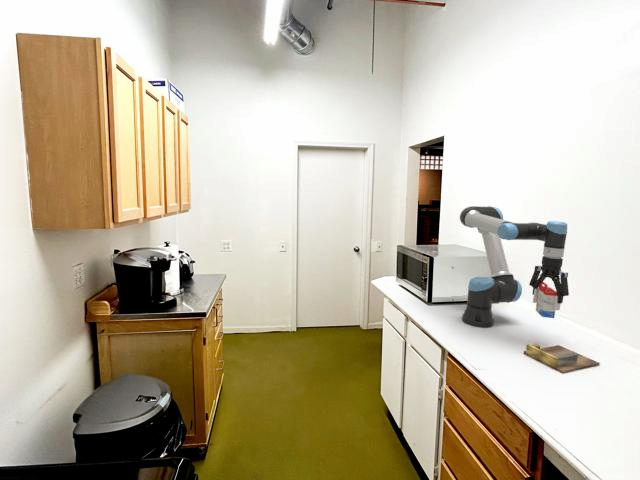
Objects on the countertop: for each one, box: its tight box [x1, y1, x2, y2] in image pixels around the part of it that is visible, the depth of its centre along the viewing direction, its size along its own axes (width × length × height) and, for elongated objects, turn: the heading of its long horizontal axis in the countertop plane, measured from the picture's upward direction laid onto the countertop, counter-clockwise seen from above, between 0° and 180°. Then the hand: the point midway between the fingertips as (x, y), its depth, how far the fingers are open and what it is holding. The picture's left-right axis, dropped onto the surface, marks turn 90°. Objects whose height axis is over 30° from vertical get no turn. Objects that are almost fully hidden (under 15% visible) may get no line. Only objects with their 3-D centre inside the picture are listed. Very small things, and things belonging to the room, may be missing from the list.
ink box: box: [535, 281, 558, 319], centre depth 157 cm, size 8×5×15 cm, turn 168°
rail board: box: [523, 343, 601, 374], centre depth 146 cm, size 17×21×4 cm
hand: (545, 306), depth 158 cm, fingers closed on ink box, 9 cm apart
